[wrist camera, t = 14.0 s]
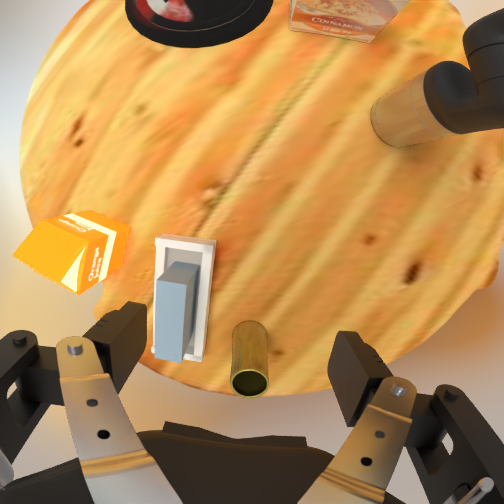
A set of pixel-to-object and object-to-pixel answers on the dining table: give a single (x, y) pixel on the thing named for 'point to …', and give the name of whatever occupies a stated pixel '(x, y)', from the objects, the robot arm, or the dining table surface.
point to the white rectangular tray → (203, 255)
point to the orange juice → (75, 249)
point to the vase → (249, 360)
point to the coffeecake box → (343, 17)
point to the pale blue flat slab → (175, 310)
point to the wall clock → (195, 20)
